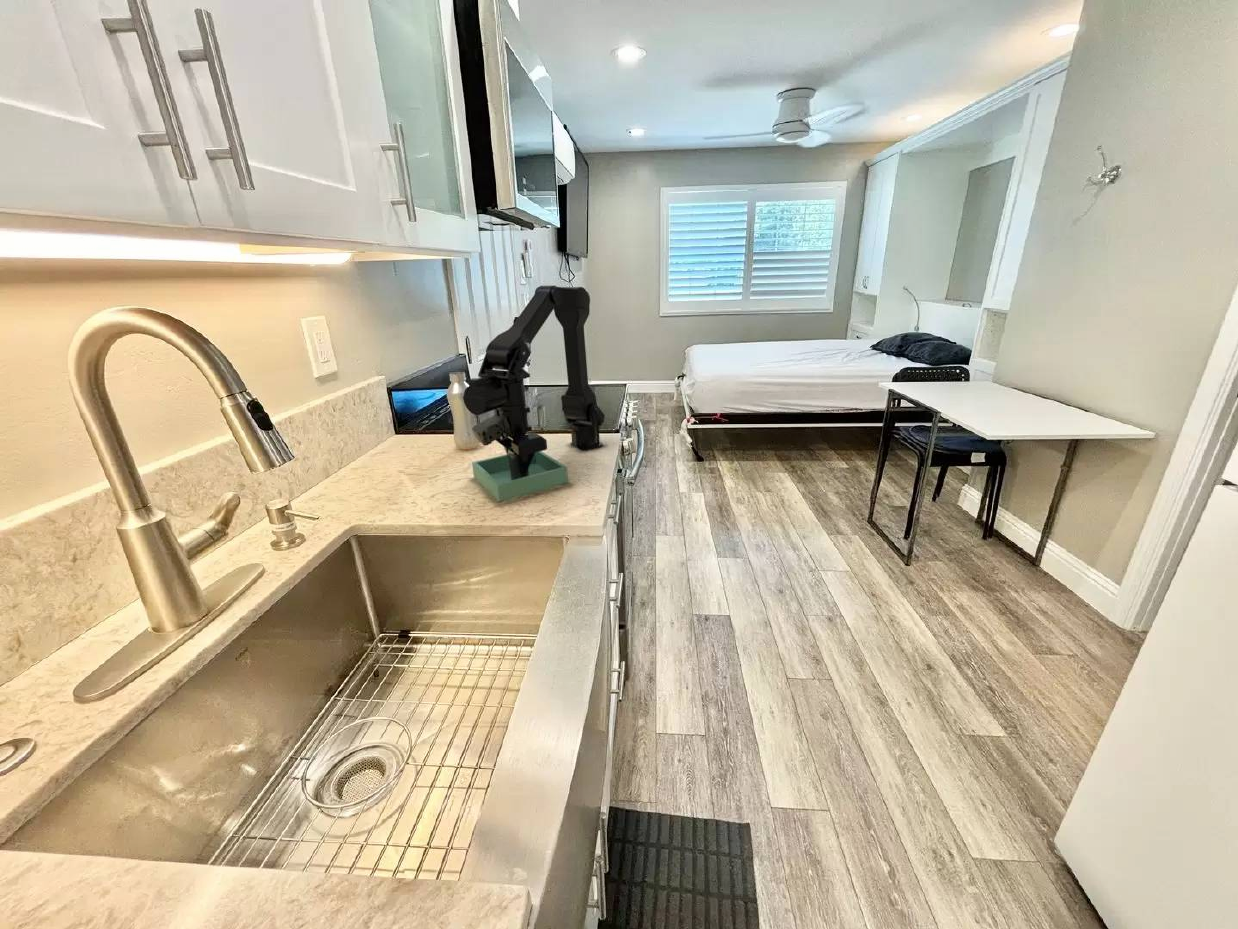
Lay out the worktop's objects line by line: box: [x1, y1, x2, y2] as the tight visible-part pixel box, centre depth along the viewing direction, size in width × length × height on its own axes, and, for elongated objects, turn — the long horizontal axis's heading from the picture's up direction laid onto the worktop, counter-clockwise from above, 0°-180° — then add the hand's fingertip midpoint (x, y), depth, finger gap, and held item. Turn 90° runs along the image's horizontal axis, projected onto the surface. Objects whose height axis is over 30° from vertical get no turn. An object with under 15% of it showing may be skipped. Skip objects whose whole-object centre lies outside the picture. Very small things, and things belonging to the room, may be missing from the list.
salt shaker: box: [508, 447, 529, 480], centre depth 107 cm, size 4×4×7 cm
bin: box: [471, 451, 569, 502], centre depth 107 cm, size 16×16×4 cm
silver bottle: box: [446, 371, 481, 450], centre depth 127 cm, size 6×7×20 cm
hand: (519, 472), depth 107 cm, fingers closed on salt shaker, 4 cm apart
